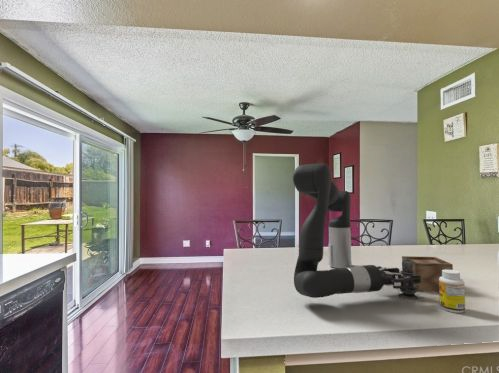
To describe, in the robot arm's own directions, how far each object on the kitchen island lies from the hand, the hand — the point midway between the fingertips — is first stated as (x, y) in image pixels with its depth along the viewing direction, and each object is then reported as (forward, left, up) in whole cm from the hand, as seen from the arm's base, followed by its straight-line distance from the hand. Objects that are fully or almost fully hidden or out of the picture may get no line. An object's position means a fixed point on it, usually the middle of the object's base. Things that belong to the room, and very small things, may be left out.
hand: (408, 274), depth 85 cm
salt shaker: (0, 0, -7) cm, 7 cm away
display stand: (+10, +11, -7) cm, 16 cm away
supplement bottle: (+7, -9, -7) cm, 13 cm away
